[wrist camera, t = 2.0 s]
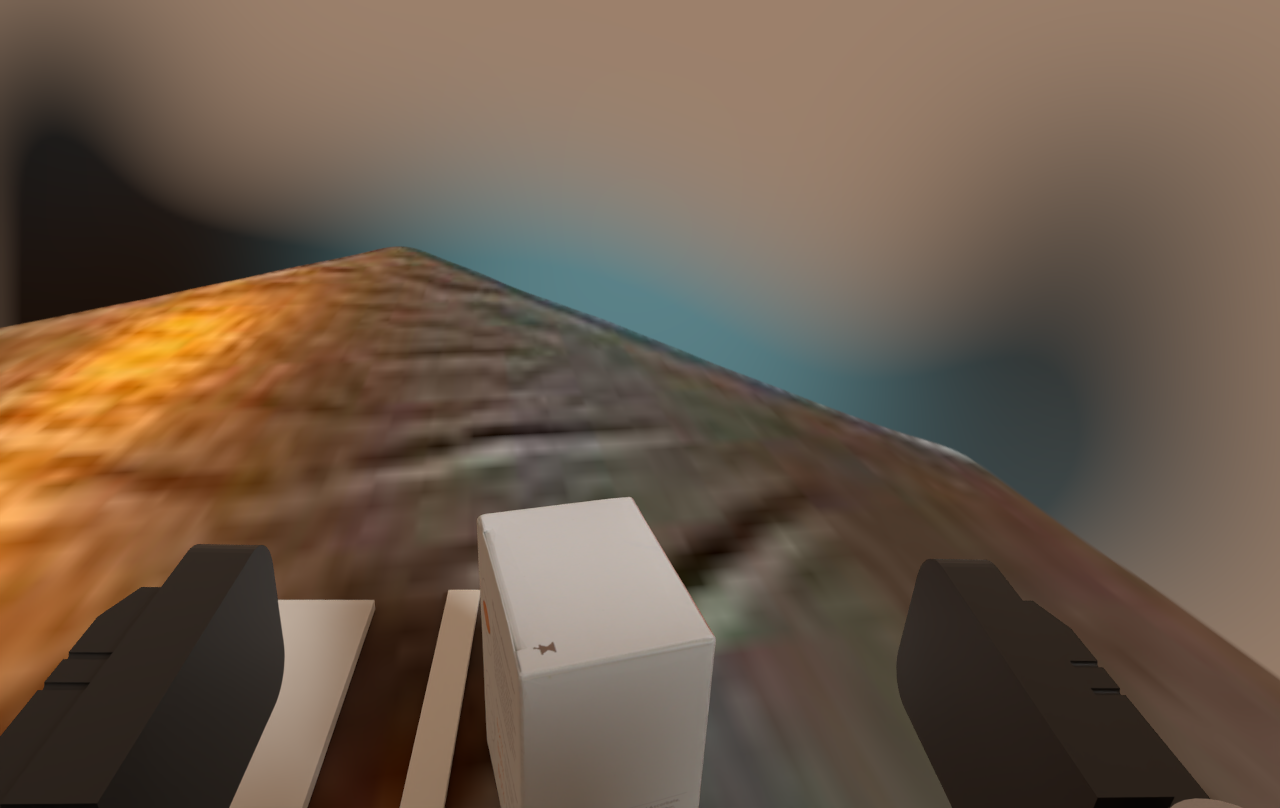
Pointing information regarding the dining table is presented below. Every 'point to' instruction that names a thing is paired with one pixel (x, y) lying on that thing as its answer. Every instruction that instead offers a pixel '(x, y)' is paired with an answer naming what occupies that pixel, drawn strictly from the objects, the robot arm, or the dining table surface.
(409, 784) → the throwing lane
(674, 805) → the small box
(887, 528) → the dining table surface
